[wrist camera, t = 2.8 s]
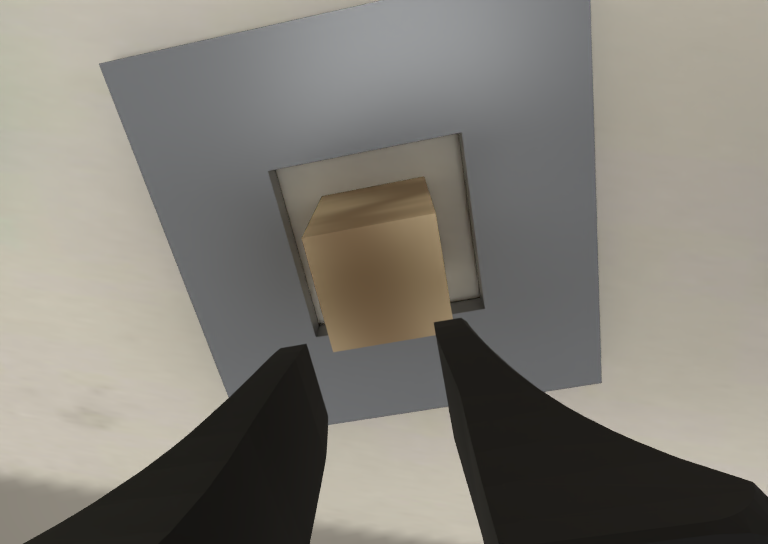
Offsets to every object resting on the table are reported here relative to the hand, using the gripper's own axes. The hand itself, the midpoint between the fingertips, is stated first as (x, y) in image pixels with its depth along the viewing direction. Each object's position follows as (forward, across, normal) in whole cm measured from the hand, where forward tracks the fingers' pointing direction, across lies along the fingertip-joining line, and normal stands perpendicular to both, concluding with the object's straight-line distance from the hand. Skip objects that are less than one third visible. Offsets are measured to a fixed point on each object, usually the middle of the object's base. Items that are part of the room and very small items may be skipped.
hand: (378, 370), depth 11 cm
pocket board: (+9, 0, 0) cm, 9 cm away
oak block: (+10, 0, 0) cm, 10 cm away
